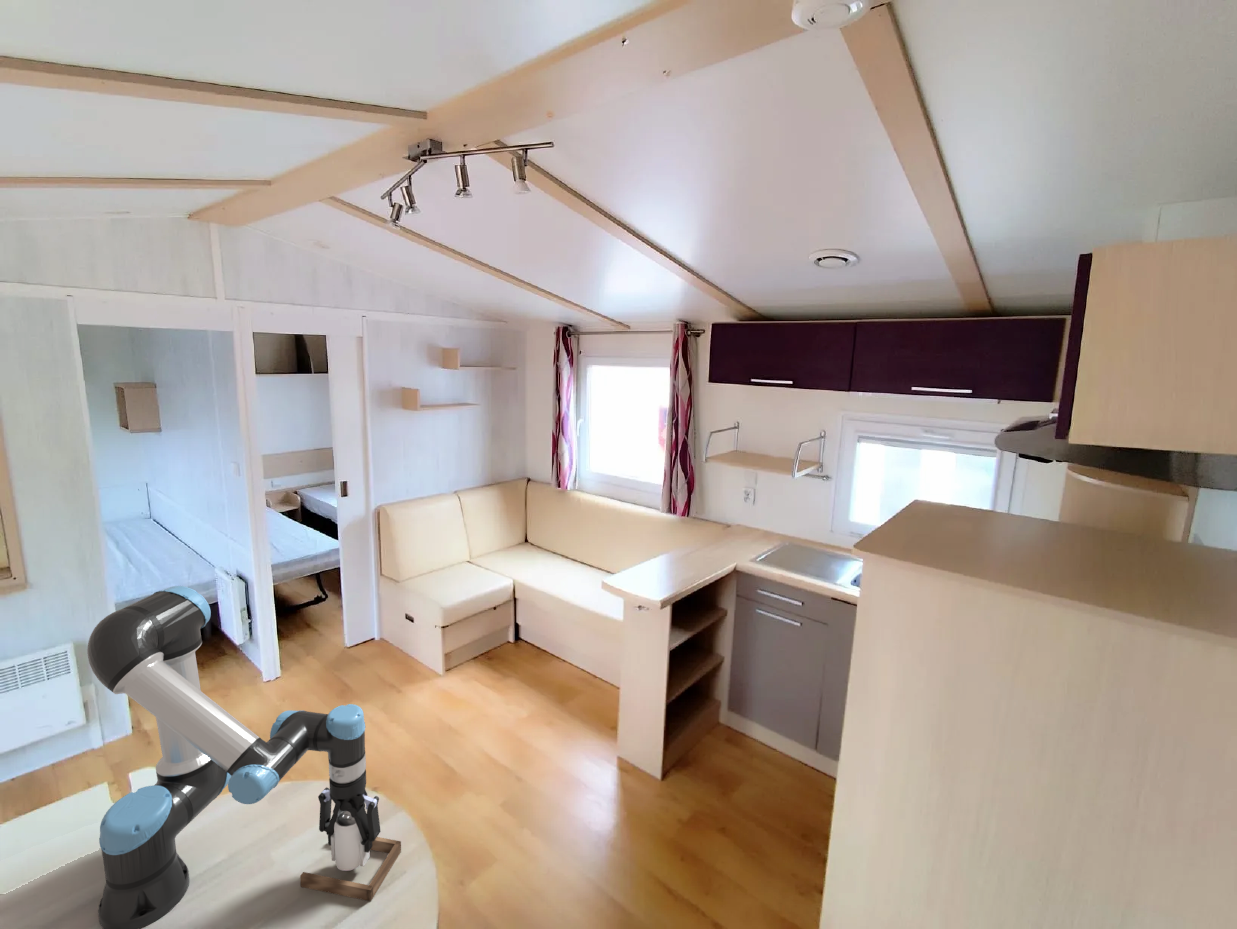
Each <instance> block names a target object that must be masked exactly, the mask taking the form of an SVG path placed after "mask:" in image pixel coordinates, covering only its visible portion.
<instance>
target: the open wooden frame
mask: <svg viewBox="0 0 1237 929" xmlns="http://www.w3.org/2000/svg"><path fill="white" fill-rule="evenodd" d="M372 845H373V846H372V848H371V849H370V851H376V852H381V853H386V854H387V856H386V858H385V859H384V860H383V862H382V863H381V866H380V867H379V869H378V870H377V872H376V874H375V875H374V877H373V878H372V880H371V881H370V883H369V884H364V883H359V882H354V881H350V880H345V879H340V878H336V877H335V878H334V877H330V876H326V875H325V876H324V875H320V874H315V873H310V872H307V871H303V872H302V873H301V874H300V876H299V880H300V887H301V888H305V889H309V890H315V891H319V892H323V893H329V894H333V895H336V896H342V897H346V898H353V899H358V900H362V901H367V902H372V900H373V898H374V897H375V895H376V894H377V892H378V890H379V889H380V888H381V885H382V884H383V882H384V881H385V879H386V877H387V875H389V872H390V871H391V869H392V868H393V866H394V864H395V863H396V861H397V860H398V858H399V856H400V855H401V853H402V841H401V840H395V839H390V838H387V837H386V838H385V837H380V836H377V838H376V839H375V840H374V841H372Z"/></svg>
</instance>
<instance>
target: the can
mask: <svg viewBox="0 0 1237 929" xmlns="http://www.w3.org/2000/svg"><path fill="white" fill-rule="evenodd" d="M334 839H335V861H334V862H335V867H336V868H337V869H338V870H340V871H343V872H350V871H352V870H356V869H357V868H359V867H361V866H360V846H359V842H360V841H361V839H362V837H361V835H360V832H359V829H358V827H357V824H356V821H355V819H354V818H352V816H351V813H350V812H348V811H343V812H342V813H341V815H340V816H339V817H338V818H337V819H336V822H335V824H334Z"/></svg>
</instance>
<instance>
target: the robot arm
mask: <svg viewBox="0 0 1237 929" xmlns="http://www.w3.org/2000/svg"><path fill="white" fill-rule="evenodd" d="M208 602H209V601H207V600H206V598H205V597H204V596H203V594H200V593H199V592H197V590H195V589H193V588H191V587H188V586H183V585H174V586H173V585H172V586H170V587H166V588H164V589H162V590H158V591H155V592H154V593H152V594H151V595H148V596H146V597H144V598H143V599H140V600H138V601H136V602H134V603H132V604H130V605H128V606H125V607H122V608H121V609H117V610H116V611H114V612H112V613H111V614H108V615H107V616H104V618H102V619H101V620H100V621H99V622H98V623H97V624H96V625H95V627H94V628H93V630H92V632H91V634H90V635H89V639H88V644H87V649H86V650H87V658H88V664H89V666H90V667H91V668H90V669H91V671H92V673H93V674H94V675H95V676H96V678H97V680H98V681H99V682H100V683H101V684H102V685H103V686H104V687H105V688H107V689H108V690H109V691H111V693H113V694H114V695H120V694H125V695H127V696H128V697H129V698H130V699H132V700H133V701H135V702H136V703H137V704H138V705H140V706H141V707H143V709H144V710H146V711H147V712H148V713H150V714H151V715H153V717H155V719H156V727H157V731H158V738H159V743H160V750H161V755H162V756H161V758H160V759H159V760H158V762H156V765H155V773H156V780H157V781H156V783H155V784H154V785H153V784H152V785H148V786H147V785H146V786H142V787H140V788H138V789H137V790H136V791H134V792H132V791H131V792H129V793H127V794H125V795H124V796H122V797H121V798H119V799H118V800H116V801H115V802H114V803H113V804H112V805H111V806H110V807H109V809H108V810H107V811H106V812H105V814H104V815H103V818H102V820H101V822H100V826H99V840H98V841H99V842H98V843H99V847H100V849H101V855H102V862H103V870H104V876H105V877H104V878H105V885H104V888H103V893H102V897H101V899H100V901H99V904H98V908H97V909H98V910H97V912H98V914H97V915H98V921H99V925H100V926H101V928H103V929H138V928H139V929H141V928H144V927H146V926H148V925H150V924H152V923H154V922H156V921H158V919H161V918H163V917H164V916H165V915H167V914H168V913H169V912H170V911H171V910H172V909H174V908H175V907H176V906H177V905H178V904H179V903H180V902H181V900H182V899H183V898H184V896H185V894H186V893H187V891H188V889H189V885H190V873H189V872H190V871H189V868H188V865H186V863H185V862H184V860H183V859H182V857H181V856H180V855H179V854H178V852H177V846H176V845H177V844H176V838H177V836H178V835H179V834H180V833H181V832H182V831H183V830H184V829H185V828H186V827H187V826H188V825H189V824H190V823H191V822H192V821H193V820H194V819H195V818H196V817H197V816H198V815H199V814H200V813H201V812H202V811H203V810H205V809H206V808H207V807H208V806H209V805H210V804H211V803H212V802H213V801H214V800H216V799H217V798H218V797H219V796H220V794H221V793H222V792H223V791H224V789H226V787H227V790H228V792H229V793H230V794H231V797H232V798H233V800H235V801H236V802H238V803H241V804H242V805H253V804H256V803H258V802H260V801H262V800H263V799H264V798H265V797H266V796H267V795H268V794H270V792H271V791H272V790H273V789H275V788H276V787H277V786H278V785H279V783H280V781H281V780H282V779H283V778H284V777H285V776H286V774H288V773H289V771H290V770H291V769H292V768H293V767H294V766H295V765H296V764H297V763H299V761H300V759H302V757H303V756H304V755H305V754H306V753H307V752H308V751H312V752H313V751H314V752H326V753H327V755H328V756H327V758H328V776H329V779H328V781H329V787H327V786H326V787H325V788H324V789H323V790H322V791H321V793H319V795H318V796H317V797H318V801H319V826H318V830H319V832H321V833H323V832H325V834H326V835H327V841H328V846H330V849H331V850H330V851H331V861H333V862H336V861H335V839H334V824H335V822H336V819H337V818H338V817H339V816H340V815H341V813H342V812H343V811H348V812H350V813H351V816H352V818H354V819H355V821H356V824H357V827H358V829H359V832H360V835H361V837H362V839H361V841H360V842H359V846H360V866H359V867H364V866H365V865H366V863H367V862H368V860H369V858H370V857H371V852H370V851H371V850H370V849H371V848H372V846H373V845H372V841H374V840H375V839H376V838H377V837H379V835H380V834H381V824H380V815H379V814H380V813H379V807H378V805H379V800H380V798H379V796H377V795H375V796H374V797H372V796H371V797H370V796H368V792H367V790H366V787H367V770H366V769H367V761H366V740H365V739H366V737H365V736H366V722H365V714H364V711H363V709H362V707H361V706H359V705H357V704H355V703H354V704H352V703H349V704H345V705H343V704H341V705H339V706H337V707H335V708H332V710H330V711H329V713H323V712H322V713H321V712H313V711H307V710H285V711H282V712H281V713H280V714H279V715H278V716H277V717H276V719H275V722H274V723H272V726H271V728H270V732H269V738H270V739H269V740H267V741H265V740H264V739H263V738H261V737H259V736H258V735H257V734H256V733H255V732H253V731H252V730H251V729H250V728H248V727H247V726H245V724H243V723H242V722H241V721H239V720H238V719H237V718H235V717H234V716H233V715H232V714H230V713H229V712H228V711H227V710H225V709H224V708H223V707H222V706H220V705H219V703H217V702H215V701H214V700H213V699H211V698H210V696H208V695H207V694H205V693H204V692H203V691H202V690H201V682H200V677H199V676H200V675H199V669H198V662H197V658H196V657H197V656H196V651H197V650H198V649H199V648H200V647H201V646H202V644H203V640H202V635H201V629H203V628H204V627H206V625H207V623H208V622H209V621H210V619H211V616H212V615H211V613H212V612H211V607H210V604H209V603H208ZM332 802H333V803H334V808H333V810H332Z"/></svg>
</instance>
